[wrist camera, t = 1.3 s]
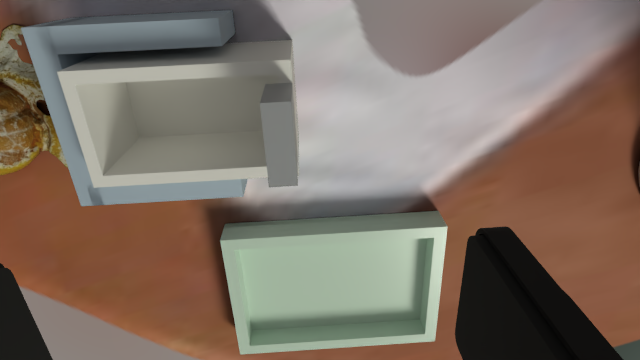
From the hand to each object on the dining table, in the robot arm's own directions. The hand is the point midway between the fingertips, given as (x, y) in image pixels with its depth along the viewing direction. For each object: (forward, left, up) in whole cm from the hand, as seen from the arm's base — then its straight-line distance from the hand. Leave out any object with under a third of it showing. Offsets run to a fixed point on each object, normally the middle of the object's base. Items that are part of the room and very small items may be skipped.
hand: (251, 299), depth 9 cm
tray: (-3, +14, -18) cm, 23 cm away
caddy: (+4, 0, -18) cm, 18 cm away
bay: (+7, 0, -18) cm, 19 cm away
